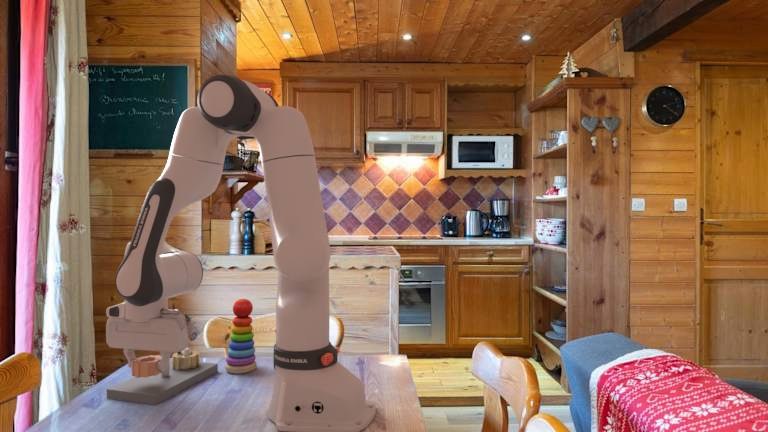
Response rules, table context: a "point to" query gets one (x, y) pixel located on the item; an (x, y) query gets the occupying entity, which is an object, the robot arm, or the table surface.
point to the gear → (185, 360)
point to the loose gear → (145, 366)
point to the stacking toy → (241, 340)
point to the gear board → (161, 383)
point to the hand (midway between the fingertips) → (147, 368)
